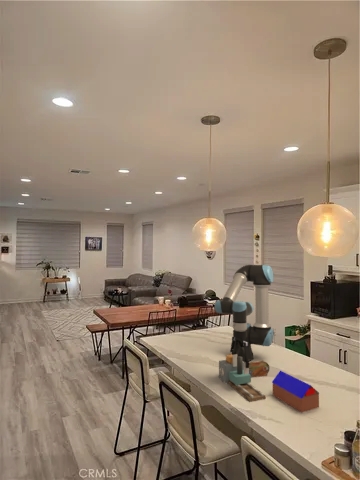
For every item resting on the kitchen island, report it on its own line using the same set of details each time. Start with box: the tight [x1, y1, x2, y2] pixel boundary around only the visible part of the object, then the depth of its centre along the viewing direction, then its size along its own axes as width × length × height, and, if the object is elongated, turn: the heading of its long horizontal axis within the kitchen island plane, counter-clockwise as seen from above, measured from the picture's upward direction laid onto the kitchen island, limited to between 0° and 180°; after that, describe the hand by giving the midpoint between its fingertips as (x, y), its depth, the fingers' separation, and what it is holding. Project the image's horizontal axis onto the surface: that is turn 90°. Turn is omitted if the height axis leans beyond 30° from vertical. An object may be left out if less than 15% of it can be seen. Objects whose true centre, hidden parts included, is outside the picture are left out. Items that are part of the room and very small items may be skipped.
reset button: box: [225, 354, 233, 363], centre depth 183 cm, size 4×4×3 cm
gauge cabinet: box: [218, 359, 244, 384], centre depth 183 cm, size 12×8×10 cm, turn 110°
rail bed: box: [228, 380, 267, 403], centre depth 168 cm, size 22×9×2 cm, turn 20°
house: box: [271, 370, 320, 413], centre depth 158 cm, size 12×20×12 cm, turn 26°
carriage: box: [229, 356, 252, 385], centre depth 174 cm, size 8×9×13 cm
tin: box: [249, 360, 270, 378], centre depth 188 cm, size 15×3×8 cm, turn 105°
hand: (240, 369), depth 174 cm, fingers open, 11 cm apart
